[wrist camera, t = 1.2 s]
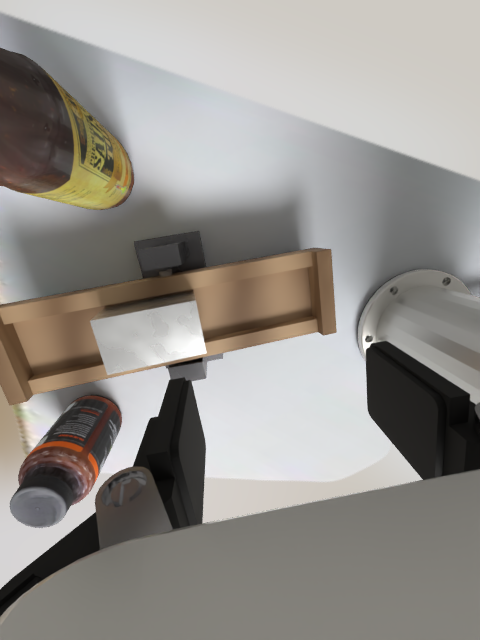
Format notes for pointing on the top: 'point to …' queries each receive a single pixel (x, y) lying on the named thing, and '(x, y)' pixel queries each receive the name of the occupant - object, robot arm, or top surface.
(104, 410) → the supplement bottle
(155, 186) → the top surface
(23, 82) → the sauce bottle
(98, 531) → the robot arm
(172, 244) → the fulcrum
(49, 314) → the beam
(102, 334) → the rider
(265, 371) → the top surface
